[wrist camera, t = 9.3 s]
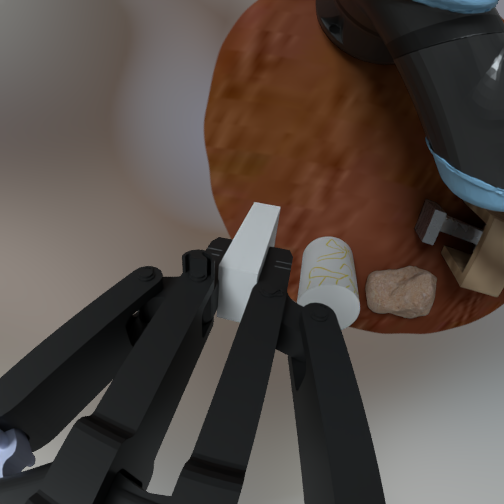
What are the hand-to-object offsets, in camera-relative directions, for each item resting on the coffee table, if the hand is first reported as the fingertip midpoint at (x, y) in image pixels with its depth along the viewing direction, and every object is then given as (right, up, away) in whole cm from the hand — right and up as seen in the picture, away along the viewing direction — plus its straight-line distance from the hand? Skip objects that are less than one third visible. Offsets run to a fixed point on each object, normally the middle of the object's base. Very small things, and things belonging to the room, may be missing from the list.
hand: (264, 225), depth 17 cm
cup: (+11, -3, +28) cm, 30 cm away
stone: (+24, -7, +28) cm, 38 cm away
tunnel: (+35, +2, +19) cm, 40 cm away
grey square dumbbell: (+37, +1, +18) cm, 41 cm away
